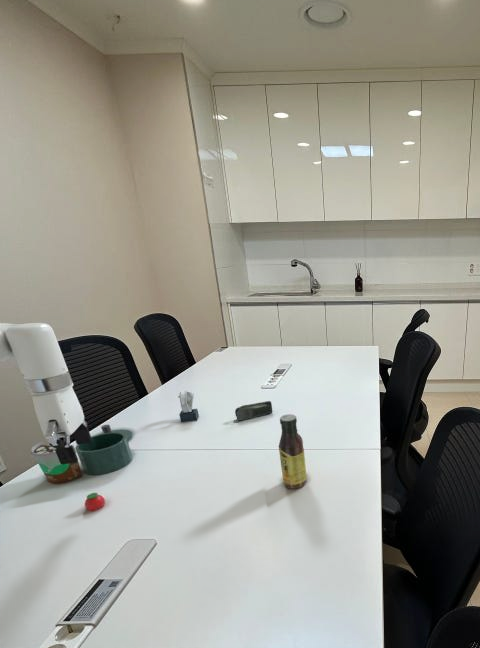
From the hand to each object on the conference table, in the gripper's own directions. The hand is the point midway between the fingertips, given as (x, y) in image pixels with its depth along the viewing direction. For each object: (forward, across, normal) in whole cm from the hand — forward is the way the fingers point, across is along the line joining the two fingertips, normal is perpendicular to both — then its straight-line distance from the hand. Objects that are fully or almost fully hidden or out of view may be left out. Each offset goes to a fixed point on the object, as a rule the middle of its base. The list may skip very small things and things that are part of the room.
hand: (77, 452), depth 90 cm
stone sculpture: (+16, -51, +16) cm, 56 cm away
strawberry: (+16, +1, 0) cm, 16 cm away
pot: (+16, -24, -4) cm, 29 cm away
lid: (+15, -42, -8) cm, 45 cm away
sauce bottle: (+17, +6, +48) cm, 51 cm away
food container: (+16, -19, -15) cm, 29 cm away
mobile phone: (+17, -45, +39) cm, 61 cm away
